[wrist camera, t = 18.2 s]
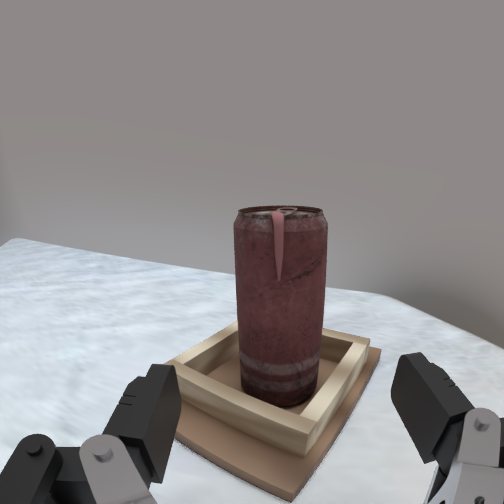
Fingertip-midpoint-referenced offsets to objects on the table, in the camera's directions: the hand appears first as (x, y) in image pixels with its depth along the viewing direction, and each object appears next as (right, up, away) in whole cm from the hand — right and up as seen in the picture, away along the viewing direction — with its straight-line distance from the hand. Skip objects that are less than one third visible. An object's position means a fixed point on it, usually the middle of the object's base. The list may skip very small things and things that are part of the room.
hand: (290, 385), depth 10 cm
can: (+1, -6, +13) cm, 15 cm away
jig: (0, -7, +14) cm, 16 cm away
